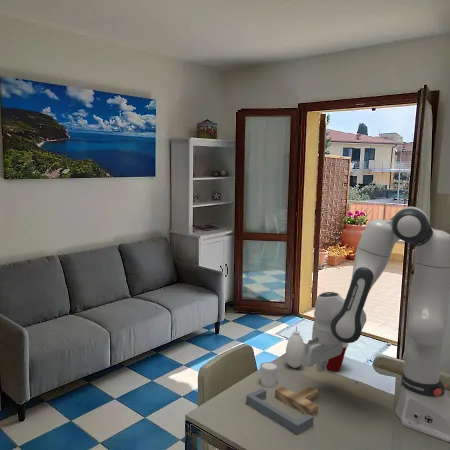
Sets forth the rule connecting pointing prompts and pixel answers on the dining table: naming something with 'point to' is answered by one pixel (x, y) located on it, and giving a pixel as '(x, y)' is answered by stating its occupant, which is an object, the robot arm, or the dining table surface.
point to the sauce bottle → (295, 350)
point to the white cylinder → (268, 374)
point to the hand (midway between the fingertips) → (320, 370)
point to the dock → (278, 413)
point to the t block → (299, 399)
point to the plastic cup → (337, 360)
